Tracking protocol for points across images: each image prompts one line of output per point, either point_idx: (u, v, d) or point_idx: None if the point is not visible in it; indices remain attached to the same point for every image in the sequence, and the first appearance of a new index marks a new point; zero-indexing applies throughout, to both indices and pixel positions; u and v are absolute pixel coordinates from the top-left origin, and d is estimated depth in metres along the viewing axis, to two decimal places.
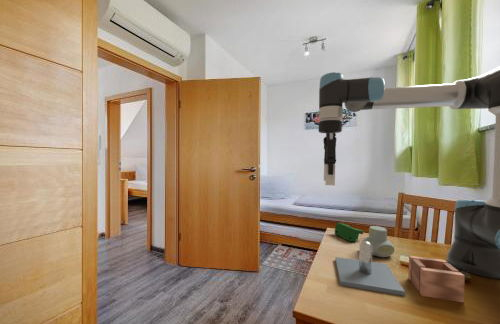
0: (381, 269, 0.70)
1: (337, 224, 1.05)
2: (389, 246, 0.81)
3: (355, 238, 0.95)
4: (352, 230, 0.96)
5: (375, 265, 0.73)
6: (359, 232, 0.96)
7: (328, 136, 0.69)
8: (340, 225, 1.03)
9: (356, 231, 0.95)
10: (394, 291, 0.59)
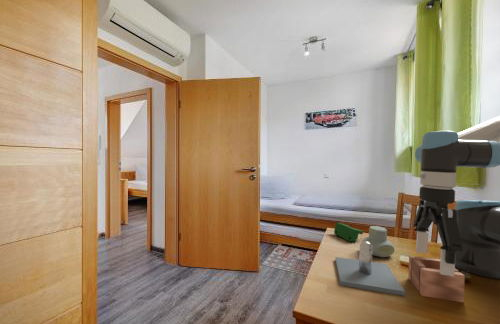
0: (381, 269, 0.70)
1: (337, 224, 1.05)
2: (389, 246, 0.81)
3: (354, 238, 0.95)
4: (352, 230, 0.96)
5: (375, 265, 0.73)
6: (359, 232, 0.96)
7: (446, 214, 0.55)
8: (340, 225, 1.03)
9: (356, 231, 0.95)
10: (394, 291, 0.59)
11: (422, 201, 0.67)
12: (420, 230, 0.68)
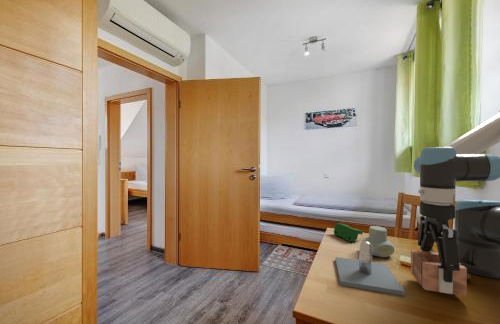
0: (381, 269, 0.70)
1: (336, 224, 1.04)
2: (389, 246, 0.81)
3: (354, 238, 0.95)
4: (351, 230, 0.96)
5: (375, 265, 0.73)
6: (358, 232, 0.96)
7: (446, 234, 0.55)
8: (339, 225, 1.03)
9: (355, 231, 0.95)
10: (394, 291, 0.59)
11: (422, 217, 0.67)
12: (425, 250, 0.67)
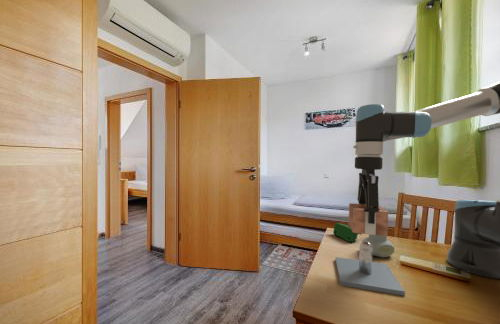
0: (381, 269, 0.70)
1: (336, 224, 1.04)
2: (389, 246, 0.81)
3: (354, 239, 0.95)
4: (351, 230, 0.96)
5: (375, 265, 0.73)
6: None
7: (370, 180, 0.62)
8: (339, 225, 1.03)
9: None
10: (394, 291, 0.59)
11: (360, 173, 0.74)
12: (361, 203, 0.73)
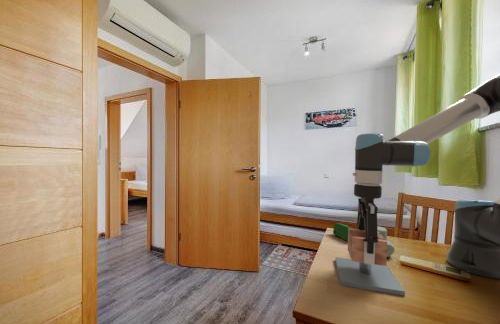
0: (381, 269, 0.70)
1: (335, 224, 1.04)
2: (389, 246, 0.81)
3: None
4: None
5: (375, 265, 0.73)
6: None
7: (369, 210, 0.62)
8: (338, 225, 1.03)
9: None
10: (394, 291, 0.59)
11: (360, 199, 0.74)
12: (360, 229, 0.73)
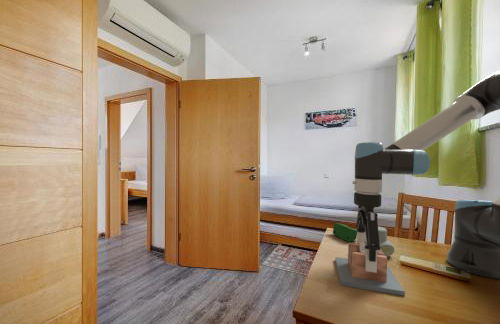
0: None
1: (335, 224, 1.04)
2: (389, 246, 0.81)
3: (353, 239, 0.95)
4: (350, 230, 0.96)
5: None
6: None
7: (369, 217, 0.62)
8: (338, 225, 1.03)
9: (354, 231, 0.95)
10: (394, 291, 0.59)
11: None
12: (360, 231, 0.75)
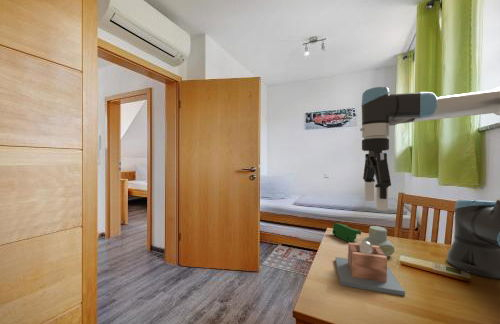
0: None
1: (335, 224, 1.04)
2: (389, 246, 0.81)
3: (353, 239, 0.95)
4: (350, 230, 0.96)
5: None
6: (357, 232, 0.96)
7: (379, 157, 0.63)
8: (338, 225, 1.02)
9: (354, 231, 0.95)
10: (394, 291, 0.59)
11: (367, 154, 0.76)
12: (367, 181, 0.77)
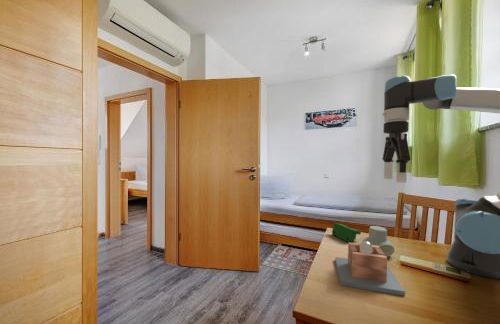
0: None
1: (335, 224, 1.04)
2: (389, 246, 0.81)
3: (352, 239, 0.95)
4: (349, 230, 0.96)
5: None
6: (356, 232, 0.95)
7: (399, 136, 0.73)
8: (337, 225, 1.02)
9: (353, 231, 0.95)
10: (394, 291, 0.59)
11: (387, 137, 0.85)
12: (387, 161, 0.87)
